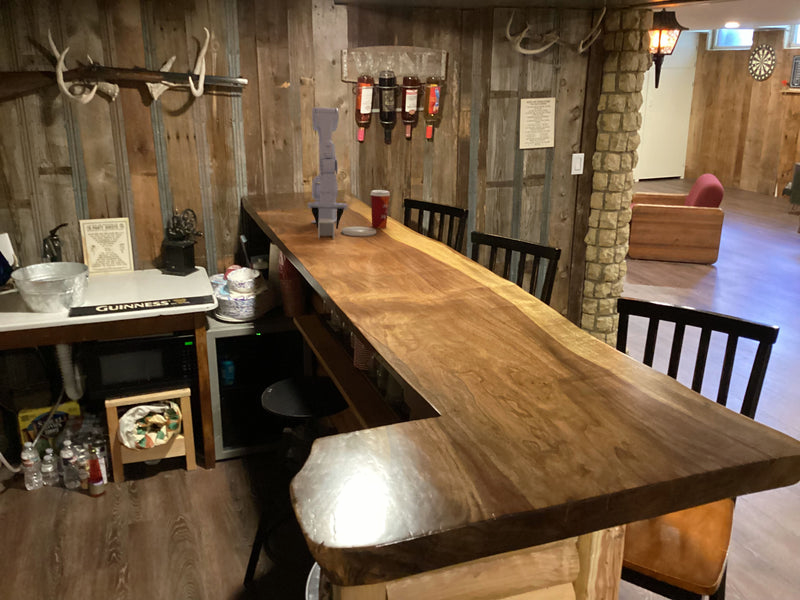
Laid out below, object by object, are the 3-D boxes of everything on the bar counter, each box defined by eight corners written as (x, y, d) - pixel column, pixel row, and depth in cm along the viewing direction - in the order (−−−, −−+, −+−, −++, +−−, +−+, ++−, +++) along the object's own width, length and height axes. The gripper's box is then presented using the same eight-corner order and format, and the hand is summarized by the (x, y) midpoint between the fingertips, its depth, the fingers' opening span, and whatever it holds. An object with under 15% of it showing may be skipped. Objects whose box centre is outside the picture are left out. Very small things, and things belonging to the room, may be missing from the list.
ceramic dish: (348, 227, 269) (348, 225, 268) (380, 231, 265) (380, 228, 265) (336, 234, 257) (336, 231, 256) (369, 237, 253) (369, 235, 253)
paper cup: (388, 229, 269) (389, 193, 265) (368, 228, 269) (369, 192, 265) (389, 225, 277) (390, 190, 273) (370, 224, 277) (371, 189, 273)
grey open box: (319, 235, 254) (319, 218, 252) (334, 235, 254) (334, 218, 253) (318, 238, 249) (318, 221, 247) (333, 239, 249) (334, 221, 247)
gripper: (307, 192, 251) (307, 229, 255) (347, 194, 252) (346, 230, 256) (308, 189, 258) (308, 225, 262) (347, 191, 259) (347, 227, 263)
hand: (327, 228), depth 260 cm, fingers open, 6 cm apart
